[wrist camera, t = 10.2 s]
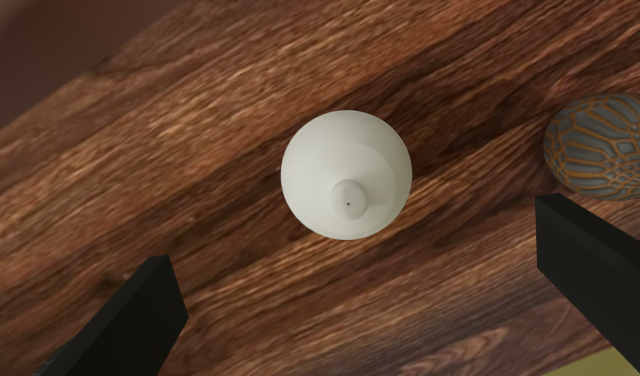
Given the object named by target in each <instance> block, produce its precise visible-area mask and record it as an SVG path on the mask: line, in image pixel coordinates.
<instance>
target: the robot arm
mask: <svg viewBox="0 0 640 376" xmlns="http://www.w3.org/2000/svg"><path fill="white" fill-rule="evenodd" d="M535 213H536V245H537V268H538V269H539V270H540V271H541V272H542V273H543V274H544V275H545V276H546V277H547V278H548V279H549V280H550V281H551V282H552V283H553V284H554V286H555V287H556V288H557V289H558V290H559V291H560V292H561V293H562V294H563V295H564V296H565V297H566V298H567V299H568V300H569V301H570V302H571V303H572V304H573V305H574V306H575V307H576V308H577V309H578V310H579V311H580V312H581V313H582V314H583V315H584V316H585V317H586V318H587V319H588V321H589V322H590V323H591V324H592V325H593V326H594V327H595V328H596V329H597V330H598V331H599V332H600V333H601V334H602V335H603V336H604V337H605V338H606V339H607V340H608V341H609V342H610V343H611V344H612V345H613V346H614V347H615V348H616V349H617V350H618V351H619V352H620V353H621V354H622V355H623V356H624V358H625V359H626V360H627V361H628V362H629V363H630V364H631V365H632V366H633V367H634V368H635V369H636V370H637V371H638V372H639V373H640V241H638V240H636V239H635V238H633V237H631V236H630V235H628V234H626V233H625V232H623V231H621V230H620V229H618V228H616V227H615V226H613V225H611V224H610V223H608V222H606V221H605V220H603V219H601V218H600V217H598V216H596V215H595V214H593V213H591V212H590V211H588V210H586V209H585V208H583V207H581V206H580V205H578V204H576V203H575V202H573V201H571V200H570V199H568V198H566V197H565V196H563V195H561V194H560V193H553V194H546V195H540V196H535ZM188 319H189V316H188V313H187V310H186V307H185V304H184V301H183V298H182V295H181V292H180V289H179V286H178V283H177V280H176V276H175V273H174V270H173V267H172V264H171V261H170V258H169V255H168V254H167V255H160V256H154V257H148V259H147V260H146V261H145V262H144V263H143V264H142V265H141V266H140V267H139V268H138V269H137V270H136V271H135V273H134V274H133V275H132V276H131V277H130V278H129V279H128V280H127V281H126V282H125V283H124V284H123V285H122V287H121V288H120V289H119V290H118V291H117V292H116V293H115V294H114V295H113V296H112V297H111V298H110V299H109V301H108V302H107V303H106V304H105V305H104V306H103V307H102V308H101V309H100V310H99V311H98V312H97V313H96V315H95V316H94V317H93V318H92V319H91V320H90V321H89V322H88V323H87V324H86V325H85V326H84V327H83V329H82V330H81V331H80V332H79V333H78V334H77V335H76V336H75V337H73V338H72V339H70V340H69V341H68V342H66V343H65V344H64V345H62V346H61V347H59V348H58V349H57V350H56V351H55V352H54V353H53V354H52V355H51V356H50V357H49V358H48V359H47V360H46V361H45V362H44V365H42V366H40V368H39V369H38V370H37V371H36V372H35V373H34V374H33V376H157V374H158V372H159V371H160V369H161V367H162V365H163V363H164V362H165V360H166V358H167V356H168V354H169V353H170V351H171V349H172V347H173V345H174V344H175V342H176V340H177V338H178V336H179V335H180V333H181V331H182V329H183V328H184V326H185V324H186V322H187V320H188Z"/></svg>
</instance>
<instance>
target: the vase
mask: <svg viewBox="0 0 640 376" xmlns="http://www.w3.org/2000/svg"><path fill="white" fill-rule="evenodd" d="M543 153H544V158H545V161H546V163H547V165H548V167H549V169H550V171H551V172H552V173H553V175H554V176H555V177H556V178H557V179H558V180H559V181H560V182H561V183H562V184H564V185H565V186H566V187H568V188H570V189H571V190H573V191H575V192H577V193H579V194H581V195H583V196H586V197H589V198H593V199H598V200H606V201H625V200H632V199H636V198H640V96H639V95H635V94H630V93H623V92H601V93H596V94H591V95H588V96H584V97H582V98H579V99H577V100H575V101H573V102H571V103H569V104H568V105H566V106H565V107H564V108H562V109H561V110H560V111H559V112H558V113H557V114H556V115H555V116H554V117H553V119H552V120H551V121H550V123H549V125H548V127H547V129H546V131H545V134H544V139H543Z"/></svg>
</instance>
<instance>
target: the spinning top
mask: <svg viewBox="0 0 640 376" xmlns="http://www.w3.org/2000/svg"><path fill="white" fill-rule="evenodd" d="M281 183H282V189H283V193H284V196H285V199H286V201H287V203H288V205H289V207H290V209H291V210H292V212H293V213H294V215H295V216H296V217H297V218H298V219H299V220H300V221H301V222H302V223H303V224H304V225H305V226H307V227H308V228H309V229H311V230H313V231H314V232H316V233H318V234H320V235H323V236H326V237H329V238H333V239H340V240H353V239H359V238H363V237H367V236H370V235H372V234H374V233H377V232H378V231H380V230H382V229H383V228H385V227H386V226H387V225H389V224H390V223H391V222H392V221H393V220H394V219H395V218H396V217H397V216H398V214H399V213H400V212H401V210H402V209H403V207H404V205H405V203H406V201H407V199H408V196H409V193H410V189H411V184H412V167H411V161H410V157H409V153H408V151H407V148H406V146H405V144H404V143H403V141H402V139H401V138H400V136H399V135H398V134H397V133H396V132H395V131H394V130H393V129H392V128H391V127H390V126H389V125H388V124H387V123H385V122H384V121H382V120H381V119H379V118H377V117H375V116H372V115H370V114H367V113H363V112H359V111H351V110H342V111H334V112H330V113H327V114H324V115H321V116H319V117H317V118H315V119H313V120H312V121H310V122H309V123H307V124H306V125H305V126H303V127H302V128H301V129H300V130H299V131H298V132H297V133H296V134H295V136H294V137H293V138H292V140H291V141H290V143H289V145H288V147H287V149H286V151H285V154H284V157H283V161H282V167H281Z"/></svg>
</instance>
